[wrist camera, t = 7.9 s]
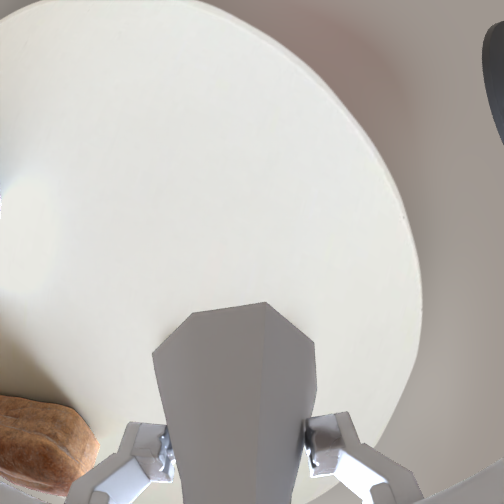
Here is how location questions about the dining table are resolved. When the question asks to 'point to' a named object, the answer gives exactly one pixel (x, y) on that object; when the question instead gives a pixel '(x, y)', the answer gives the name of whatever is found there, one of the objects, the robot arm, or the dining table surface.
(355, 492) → the robot arm
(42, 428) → the bread
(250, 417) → the flask
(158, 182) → the dining table surface
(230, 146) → the dining table surface
